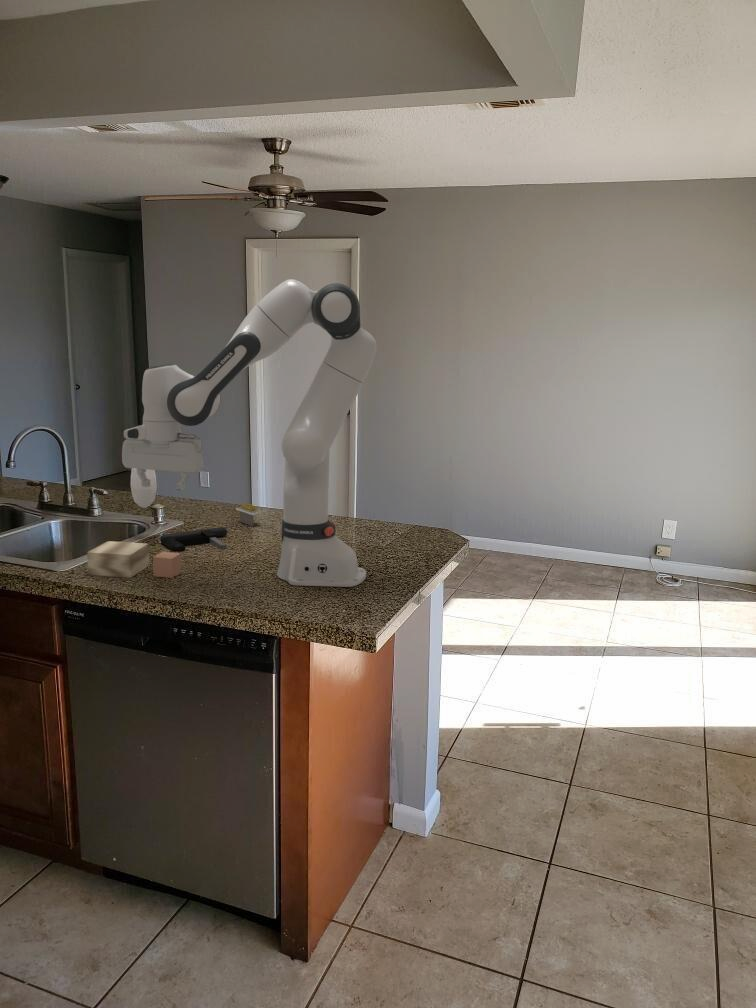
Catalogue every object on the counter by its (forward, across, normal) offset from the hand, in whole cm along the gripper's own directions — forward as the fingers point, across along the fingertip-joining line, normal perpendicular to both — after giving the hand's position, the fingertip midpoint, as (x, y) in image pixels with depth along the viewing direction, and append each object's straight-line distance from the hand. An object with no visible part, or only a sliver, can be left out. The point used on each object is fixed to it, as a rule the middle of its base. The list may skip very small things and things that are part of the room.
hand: (163, 488), depth 192 cm
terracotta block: (+22, -1, +1) cm, 22 cm away
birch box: (+22, +12, +1) cm, 25 cm away
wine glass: (+22, +22, -29) cm, 43 cm away
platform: (+22, +1, -56) cm, 60 cm away
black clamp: (+22, +4, -28) cm, 36 cm away
